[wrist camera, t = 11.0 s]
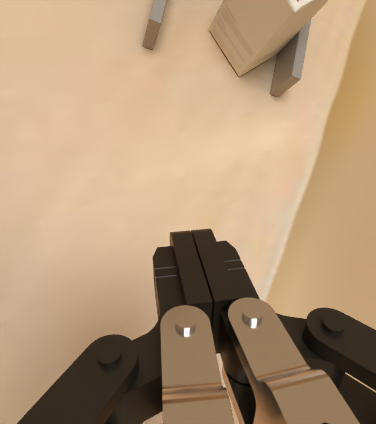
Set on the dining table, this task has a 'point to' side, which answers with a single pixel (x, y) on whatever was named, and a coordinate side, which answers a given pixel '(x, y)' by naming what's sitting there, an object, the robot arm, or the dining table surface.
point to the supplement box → (259, 28)
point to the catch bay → (286, 59)
